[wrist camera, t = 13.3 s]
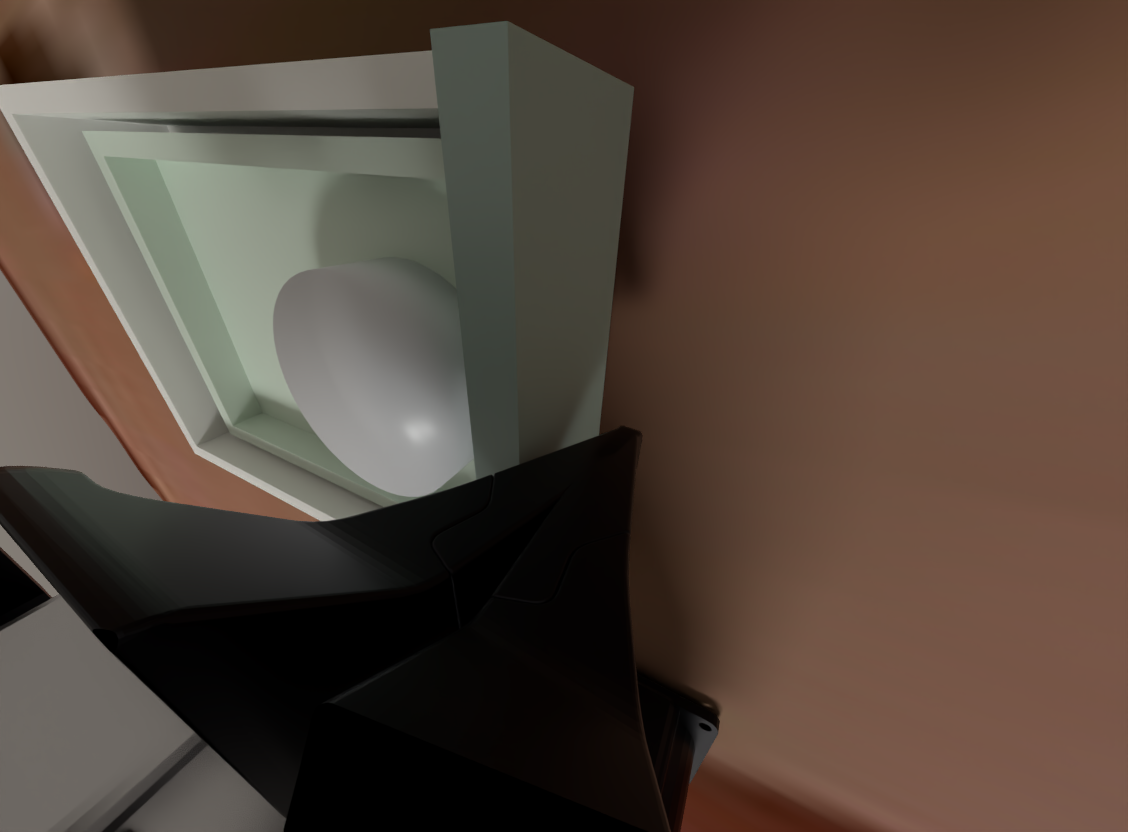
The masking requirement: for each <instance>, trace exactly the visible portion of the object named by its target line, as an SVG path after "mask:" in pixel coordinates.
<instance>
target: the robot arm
mask: <svg viewBox="0 0 1128 832" xmlns="http://www.w3.org/2000/svg"><path fill="white" fill-rule="evenodd" d="M641 442H642V433H641V432H640V431H638V430H635V429H632V428H629V427H625V426H619V427H618V428H617V429H615V430H612V431H609V432H606V433H604V434H601V435H598V436H595V437H593V438H590V439H587V440H584V441H582V442H579V443H576V444H573V445H571V446H568V447H565V448H562V449H560V450H557V451H554V452H551V453H549V454H546V455H543V456H540V457H538V458H535V459H532V460H529V461H527V462H524V463H521V464H518V465H516V466H513V467H510V468H507V469H505V470H502V471H499V472H496V473H495V474H494V476H493V475H488V476H485V477H482V478H480V479H477V480H474V481H471V482H468V483H465V484H462V485H459V486H456V487H453V488H450V489H447V490H444V491H440V492H437V493H434V494H430V495H427V496H423V497H420V498H416V499H413V500H409V501H405V502H402V503H398V504H394V505H391V506H387V507H383V508H380V509H376V510H372V511H369V512H365V513H361V514H358V515H354V516H350V517H346V518H342V519H336V520H330V521H317V522H309V521H294V520H287V519H280V518H273V517H267V516H260V515H253V514H246V513H240V512H233V511H226V510H219V509H213V508H206V507H199V506H193V505H186V504H179V503H172V502H166V501H158V500H153V499H147V498H142V497H136V496H132V495H127V494H123V493H119V492H115V491H112V490H109V489H106V488H103V487H101V486H99V485H98V484H96V483H95V482H93V481H92V480H91V479H90V478H88V477H87V476H86V475H85V474H83V473H82V472H79V471H75V470H67V469H57V468H47V467H33V466H4V467H0V524H1V526H2V527H3V528H4V529H5V530H6V531H7V533H8V534H9V535H10V536H11V537H12V539H13V540H14V541H15V542H16V543H17V545H19V547H20V548H21V549H22V550H23V552H24V553H25V554H26V555H27V556H28V557H29V559H30V560H31V561H32V562H33V563H34V565H35V566H36V567H37V568H38V569H39V570H40V572H41V573H42V574H43V575H44V576H45V578H46V579H47V580H48V581H49V582H50V583H51V585H52V586H53V587H54V588H55V589H56V590H57V592H58V593H59V594H58V595H56V596H55V597H53V598H52V597H51V596H50V595H49V594H48V593H47V592H46V591H45V590H44V589H43V588H42V586H41V585H40V584H39V583H37V582H36V581H35V580H34V579H33V578H32V577H31V576H30V575H29V574H28V573H27V572H26V571H25V570H24V569H23V568H22V567H21V566H19V564H18V563H16V562H15V561H14V560H13V559H12V558H11V557H10V556H9V555H8V554H7V553H6V552H5V551H4V550H3V549H2V548H1V547H0V832H680V830H681V825H682V819H683V814H684V808H685V803H686V797H687V792H688V786H689V783H690V782H691V781H692V779H693V777H694V775H695V773H696V772H697V770H698V768H699V766H700V765H701V763H702V761H703V759H704V758H705V756H706V754H707V752H708V750H709V749H710V747H711V745H712V743H713V742H714V740H715V738H716V736H717V735H718V730H719V722H720V721H719V719H718V717H717V716H716V715H714V714H713V713H711V712H710V711H708V710H706V709H704V708H702V707H700V706H698V705H696V704H695V703H693V702H691V701H689V700H687V699H685V698H683V697H681V696H679V695H677V694H675V693H673V692H672V691H670V690H668V689H666V688H664V687H662V686H660V685H658V684H656V683H654V682H652V681H650V680H648V679H647V678H645V677H643V676H641V675H639V674H637V672H636V662H635V651H634V641H633V630H632V619H631V609H630V593H629V551H630V539H631V536H630V534H631V523H632V511H633V498H634V486H635V474H636V468H637V464H638V459H639V453H640V448H641Z"/></svg>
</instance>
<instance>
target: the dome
mask: <svg viewBox="0 0 1128 832" xmlns="http://www.w3.org/2000/svg"><path fill="white" fill-rule="evenodd" d="M273 334H274V342H275V348H276V353H277V357H278V360H279V364H280V367H281V370H282V373H283V376H284V378H285V381H286V383H287V385H288V388H289V390H290V392H291V394H292V396H293V398H294V400H295V402H296V404H297V406H298V407H299V409H300V411H301V412H302V414H303V416H304V417H305V419H306V420H307V422H308V423H309V425H310V426H311V428H312V429H313V430H314V432H315V433H316V434H317V436H318V437H319V438H320V440H321V441H322V442H323V443H324V444H325V445H326V446H327V448H328V449H329V450H330V451H331V452H332V453H333V454H334V455H335V456H336V457H337V458H338V459H339V460H340V461H341V462H342V463H343V464H344V465H346V466H347V467H348V468H349V469H350V470H352V471H353V472H354V473H355V474H357V475H358V476H359V477H361V478H362V479H364V480H365V481H367V482H368V483H370V484H372V485H374V486H376V487H378V488H380V489H382V490H384V491H387V492H389V493H393V494H396V495H400V496H406V497H419V496H424V495H428V494H430V493H432V492H434V491H436V490H437V489H438V488H440V487H441V486H442V485H444V484H445V483H446V482H447V481H448V480H449V479H451V478H452V477H453V476H454V475H455V474H457V473H458V472H459V471H460V470H461V469H462V468H464V467H465V466H466V465H467V464H468V463H470V462H471V461H472V460H473V459H474V454H473V444H472V434H471V424H470V415H469V405H468V395H467V386H466V376H465V366H464V356H463V347H462V337H461V327H460V318H459V308H458V298H457V289H456V288H455V287H454V286H453V285H452V284H450V283H449V282H448V281H447V280H446V279H444V278H443V277H442V276H440V275H439V274H437V273H436V272H434V271H433V270H431V269H430V268H428V267H426V266H423V265H421V264H419V263H417V262H414V261H411V260H408V259H404V258H397V257H383V258H376V259H370V260H364V261H358V262H352V263H346V264H341V265H335V266H329V267H323V268H317V269H311V270H306V271H303V272H300V273H298V274H296V275H294V276H293V277H291V278H290V279H289V280H288V281H287V282H286V283H285V284H284V285H283V287H282V289H281V290H280V292H279V294H278V297H277V300H276V303H275V307H274V313H273Z"/></svg>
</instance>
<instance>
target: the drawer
mask: <svg viewBox="0 0 1128 832" xmlns="http://www.w3.org/2000/svg"><path fill="white" fill-rule="evenodd" d="M430 36H431V46H432V55H433V65H434V75H435V85H436V94H437V104H438V114H439V123H440V133H441V139H440V138H394V137H349V136H303V135H257V134H211V133H165V132H119V131H82V133H83V135H84V137H85V139H86V141H87V143H88V145H89V147H90V149H91V151H92V153H93V155H94V157H95V159H96V161H97V163H98V165H99V167H100V169H101V171H102V173H103V175H104V177H105V179H106V182H107V184H108V186H109V188H110V190H111V192H112V194H113V196H114V198H115V200H116V202H117V204H118V206H119V208H120V210H121V212H122V214H123V216H124V218H125V220H126V222H127V224H128V226H129V228H130V230H131V233H132V235H133V237H134V239H135V241H136V243H137V245H138V247H139V249H140V251H141V253H142V255H143V257H144V259H145V261H146V263H147V265H148V267H149V269H150V271H151V273H152V275H153V277H154V279H155V281H156V283H157V286H158V288H159V290H160V292H161V294H162V296H163V298H164V300H165V302H166V304H167V306H168V308H169V310H170V312H171V314H172V316H173V318H174V320H175V322H176V324H177V326H178V328H179V330H180V332H181V334H182V337H183V339H184V341H185V343H186V345H187V347H188V349H189V351H190V353H191V355H192V357H193V359H194V361H195V363H196V365H197V367H198V369H199V371H200V373H201V375H202V377H203V379H204V381H205V383H206V385H207V387H208V390H209V392H210V394H211V396H212V398H213V400H214V402H215V404H216V406H217V408H218V410H219V412H220V414H221V416H222V418H223V420H224V422H225V424H226V426H227V428H228V430H229V432H230V434H232V435H234V436H236V437H238V438H240V439H242V440H245V441H247V442H249V443H251V444H253V445H255V446H257V447H259V448H261V449H263V450H265V451H267V452H270V453H272V454H274V455H276V456H278V457H280V458H282V459H284V460H286V461H288V462H290V463H293V464H295V465H297V466H299V467H301V468H303V469H305V470H307V471H309V472H311V473H313V474H316V475H318V476H320V477H322V478H324V479H326V480H328V481H330V482H332V483H334V484H336V485H339V486H341V487H343V488H345V489H347V490H349V491H351V492H353V493H355V494H357V495H359V496H362V497H364V498H366V499H368V500H370V501H372V502H374V503H376V504H378V505H380V506H382V507H387V506H391V505H394V504H398V503H402V502H405V501H409V500H413V499H416V498H420V497H423V496H419V497H406V496H400V495H396V494H393V493H389V492H387V491H384V490H382V489H380V488H378V487H376V486H374V485H372V484H370V483H368V482H367V481H365V480H364V479H362V478H361V477H359V476H358V475H357V474H355V473H354V472H353V471H352V470H350V469H349V468H348V467H347V466H346V465H344V464H343V463H342V462H341V461H340V460H339V459H338V458H337V457H336V456H335V455H334V454H333V453H332V452H331V451H330V450H329V449H328V448H327V446H326V445H325V444H324V443H323V442H322V441H321V440H320V438H319V437H318V436H317V434H316V433H315V432H314V430H313V429H312V428H311V426H310V425H309V423H308V422H307V420H306V419H305V417H304V416H303V414H302V412H301V411H300V409H299V407H298V406H297V404H296V402H295V400H294V398H293V396H292V394H291V392H290V390H289V388H288V385H287V383H286V381H285V378H284V376H283V373H282V370H281V367H280V364H279V360H278V357H277V353H276V348H275V342H274V334H273V313H274V307H275V303H276V300H277V297H278V294H279V292H280V290H281V289H282V287H283V285H284V284H285V283H286V282H287V281H288V280H289V279H290V278H291V277H293V276H294V275H296V274H298V273H300V272H303V271H306V270H311V269H317V268H323V267H329V266H335V265H341V264H346V263H352V262H358V261H364V260H370V259H376V258H383V257H397V258H404V259H408V260H411V261H414V262H417V263H419V264H421V265H423V266H426V267H428V268H430V269H431V270H433V271H434V272H436V273H437V274H439V275H440V276H442V277H443V278H444V279H446V280H447V281H448V282H449V283H450V284H452V285H453V286H454V287H455V288H456V289H457V298H458V308H459V318H460V327H461V337H462V347H463V356H464V366H465V376H466V386H467V395H468V405H469V415H470V424H471V434H472V444H473V454H474V459H473V460H472V461H471V462H470V463H468V464H467V465H466V466H465V467H464V468H462V469H461V470H460V471H459V472H458V473H457V474H455V475H454V476H453V477H452V478H451V479H449V480H448V481H447V482H446V483H445V484H444V485H442V486H441V487H440V488H438V489H437V490H436V491H434V492H432V493H430V494H434V493H437V492H440V491H444V490H447V489H450V488H453V487H456V486H459V485H462V484H465V483H468V482H471V481H474V480H477V479H480V478H482V477H485V476H488V475H493V476H494V474H495V473H496V472H499V471H502V470H505V469H507V468H510V467H513V466H516V465H518V464H521V463H524V462H527V461H529V460H532V459H535V458H538V457H540V456H543V455H546V454H549V453H551V452H554V451H557V450H560V449H562V448H565V447H568V446H571V445H573V444H576V443H579V442H582V441H584V440H587V439H590V438H593V437H595V436H598V435H599V429H600V419H601V409H602V400H603V390H604V380H605V370H606V360H607V350H608V341H609V331H610V321H611V311H612V301H613V291H614V282H615V272H616V262H617V252H618V242H619V232H620V223H621V213H622V203H623V193H624V183H625V174H626V164H627V154H628V144H629V134H630V124H631V115H632V105H633V95H634V87H633V86H631V85H629V84H627V83H625V82H623V81H621V80H619V79H618V78H616V77H614V76H612V75H610V74H608V73H606V72H604V71H602V70H600V69H598V68H597V67H595V66H593V65H591V64H589V63H587V62H585V61H583V60H581V59H579V58H577V57H576V56H574V55H572V54H570V53H568V52H566V51H564V50H562V49H560V48H558V47H556V46H555V45H553V44H551V43H549V42H547V41H545V40H543V39H541V38H539V37H537V36H535V35H533V34H532V33H530V32H528V31H526V30H524V29H522V28H520V27H518V26H516V25H514V24H512V23H511V22H509V21H501V22H492V23H482V24H473V25H464V26H454V27H445V28H435V29H430ZM430 494H428V495H430ZM424 496H427V495H424Z"/></svg>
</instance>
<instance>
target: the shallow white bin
mask: <svg viewBox="0 0 1128 832" xmlns="http://www.w3.org/2000/svg"><path fill="white" fill-rule="evenodd" d="M0 109H1V111H2V113H3V114H4V116H5V118H6V120H7V121H8V123H9V125H10V127H11V128H12V130H13V132H14V134H15V136H16V137H17V139H18V141H19V143H20V144H21V146H22V148H23V150H24V152H25V153H26V155H27V157H28V159H29V160H30V162H31V164H32V166H33V167H34V169H35V171H36V173H37V175H38V176H39V178H40V180H41V182H42V183H43V185H44V187H45V189H46V190H47V192H48V194H49V196H50V198H51V199H52V201H53V203H54V205H55V206H56V208H57V210H58V212H59V213H60V215H61V217H62V219H63V221H64V222H65V224H66V226H67V228H68V229H69V231H70V233H71V235H72V237H73V238H74V240H75V242H76V244H77V245H78V247H79V249H80V251H81V252H82V254H83V256H84V258H85V260H86V261H87V263H88V265H89V267H90V268H91V270H92V272H93V274H94V275H95V277H96V279H97V281H98V283H99V284H100V286H101V288H102V290H103V291H104V293H105V295H106V297H107V298H108V300H109V302H110V304H111V306H112V307H113V309H114V311H115V313H116V314H117V316H118V318H119V320H120V322H121V323H122V325H123V327H124V329H125V330H126V332H127V334H128V336H129V337H130V339H131V341H132V343H133V345H134V346H135V348H136V350H137V352H138V353H139V355H140V357H141V359H142V360H143V362H144V364H145V366H146V368H147V369H148V371H149V373H150V375H151V376H152V378H153V380H154V382H155V383H156V385H157V387H158V389H159V391H160V392H161V394H162V396H163V398H164V399H165V401H166V403H167V405H168V407H169V408H170V410H171V412H172V414H173V415H174V417H175V419H176V421H177V422H178V424H179V426H180V428H181V430H182V431H183V433H184V435H185V437H186V438H187V440H188V442H189V444H190V445H191V447H192V449H193V451H194V453H195V454H197V455H199V456H201V457H203V458H205V459H207V460H208V461H210V462H212V463H214V464H216V465H218V466H220V467H221V468H223V469H225V470H227V471H229V472H231V473H233V474H234V475H236V476H238V477H240V478H242V479H244V480H246V481H247V482H249V483H251V484H253V485H255V486H257V487H259V488H261V489H262V490H264V491H266V492H268V493H270V494H272V495H274V496H275V497H277V498H279V499H281V500H283V501H285V502H287V503H288V504H290V505H292V506H294V507H296V508H298V509H300V510H301V511H303V512H305V513H307V514H309V515H311V516H313V517H315V518H316V519H318V520H320V521H330V520H336V519H342V518H346V517H350V516H354V515H358V514H361V513H365V512H369V511H372V510H376V509H380V508H383V507H382V506H380V505H378V504H376V503H374V502H372V501H370V500H368V499H366V498H364V497H362V496H359V495H357V494H355V493H353V492H351V491H349V490H347V489H345V488H343V487H341V486H339V485H336V484H334V483H332V482H330V481H328V480H326V479H324V478H322V477H320V476H318V475H316V474H313V473H311V472H309V471H307V470H305V469H303V468H301V467H299V466H297V465H295V464H293V463H290V462H288V461H286V460H284V459H282V458H280V457H278V456H276V455H274V454H272V453H270V452H267V451H265V450H263V449H261V448H259V447H257V446H255V445H253V444H251V443H249V442H247V441H245V440H242V439H240V438H238V437H236V436H234V435H232V434H230V432H229V430H228V428H227V426H226V424H225V422H224V420H223V418H222V416H221V414H220V412H219V410H218V408H217V406H216V404H215V402H214V400H213V398H212V396H211V394H210V392H209V390H208V387H207V385H206V383H205V381H204V379H203V377H202V375H201V373H200V371H199V369H198V367H197V365H196V363H195V361H194V359H193V357H192V355H191V353H190V351H189V349H188V347H187V345H186V343H185V341H184V339H183V337H182V334H181V332H180V330H179V328H178V326H177V324H176V322H175V320H174V318H173V316H172V314H171V312H170V310H169V308H168V306H167V304H166V302H165V300H164V298H163V296H162V294H161V292H160V290H159V288H158V286H157V283H156V281H155V279H154V277H153V275H152V273H151V271H150V269H149V267H148V265H147V263H146V261H145V259H144V257H143V255H142V253H141V251H140V249H139V247H138V245H137V243H136V241H135V239H134V237H133V235H132V233H131V230H130V228H129V226H128V224H127V222H126V220H125V218H124V216H123V214H122V212H121V210H120V208H119V206H118V204H117V202H116V200H115V198H114V196H113V194H112V192H111V190H110V188H109V186H108V184H107V182H106V179H105V177H104V175H103V173H102V171H101V169H100V167H99V165H98V163H97V161H96V159H95V157H94V155H93V153H92V151H91V149H90V147H89V145H88V143H87V141H86V139H85V137H84V135H83V133H82V131H119V132H165V133H211V134H257V135H303V136H349V137H394V138H440V139H441V133H440V123H439V114H438V104H437V94H436V85H435V75H434V65H433V55H432V50H431V51H419V52H406V53H394V54H381V55H369V56H357V57H344V58H332V59H319V60H307V61H295V62H282V63H270V64H257V65H245V66H233V67H220V68H208V69H195V70H183V71H171V72H158V73H146V74H133V75H121V76H109V77H96V78H84V79H71V80H59V81H47V82H34V83H22V84H9V85H0Z"/></svg>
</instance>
